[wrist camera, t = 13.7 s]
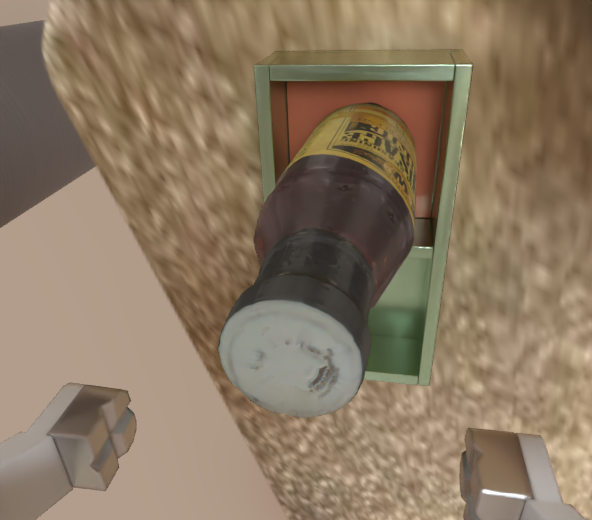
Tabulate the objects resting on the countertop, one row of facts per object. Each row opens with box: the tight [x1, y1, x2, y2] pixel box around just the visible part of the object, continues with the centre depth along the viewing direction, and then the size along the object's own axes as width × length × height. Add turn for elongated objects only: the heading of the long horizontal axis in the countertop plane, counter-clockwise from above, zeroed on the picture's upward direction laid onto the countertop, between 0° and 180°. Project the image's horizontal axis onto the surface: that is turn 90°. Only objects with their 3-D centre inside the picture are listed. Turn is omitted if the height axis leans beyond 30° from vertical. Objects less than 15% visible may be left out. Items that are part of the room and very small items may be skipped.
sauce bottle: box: [218, 102, 417, 418], centre depth 22 cm, size 7×6×20 cm
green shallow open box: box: [254, 49, 473, 386], centre depth 31 cm, size 11×20×5 cm, turn 2°
